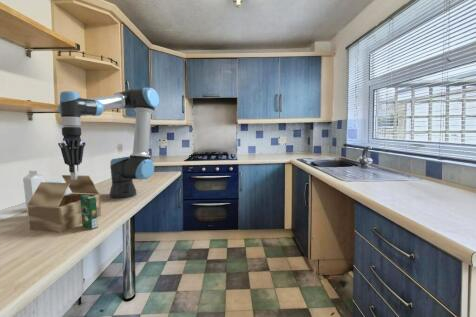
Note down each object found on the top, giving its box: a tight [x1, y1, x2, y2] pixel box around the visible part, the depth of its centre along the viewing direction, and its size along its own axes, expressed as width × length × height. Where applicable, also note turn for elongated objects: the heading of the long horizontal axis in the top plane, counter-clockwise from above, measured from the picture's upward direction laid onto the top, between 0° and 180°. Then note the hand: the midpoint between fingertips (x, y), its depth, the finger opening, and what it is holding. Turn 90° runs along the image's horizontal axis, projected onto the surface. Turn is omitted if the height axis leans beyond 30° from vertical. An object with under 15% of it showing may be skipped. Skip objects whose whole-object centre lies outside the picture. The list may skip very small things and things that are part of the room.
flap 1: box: [28, 182, 70, 207], centre depth 117 cm, size 10×15×1 cm
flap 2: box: [61, 174, 100, 195], centre depth 133 cm, size 10×15×1 cm
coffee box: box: [80, 195, 99, 230], centre depth 118 cm, size 8×3×13 cm, turn 54°
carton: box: [28, 192, 102, 233], centre depth 126 cm, size 22×16×10 cm
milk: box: [22, 170, 46, 219], centre depth 135 cm, size 6×6×22 cm
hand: (74, 179), depth 129 cm, fingers closed
